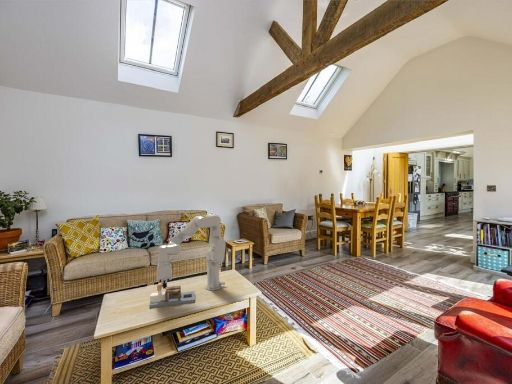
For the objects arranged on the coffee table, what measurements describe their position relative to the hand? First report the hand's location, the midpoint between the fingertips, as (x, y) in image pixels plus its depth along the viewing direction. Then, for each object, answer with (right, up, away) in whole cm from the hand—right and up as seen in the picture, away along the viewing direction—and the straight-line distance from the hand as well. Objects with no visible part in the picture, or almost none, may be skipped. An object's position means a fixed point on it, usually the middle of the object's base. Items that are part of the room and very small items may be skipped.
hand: (164, 288), depth 175 cm
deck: (+6, -10, +2) cm, 11 cm away
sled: (-3, -8, 0) cm, 8 cm away
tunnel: (+6, -8, +2) cm, 10 cm away
